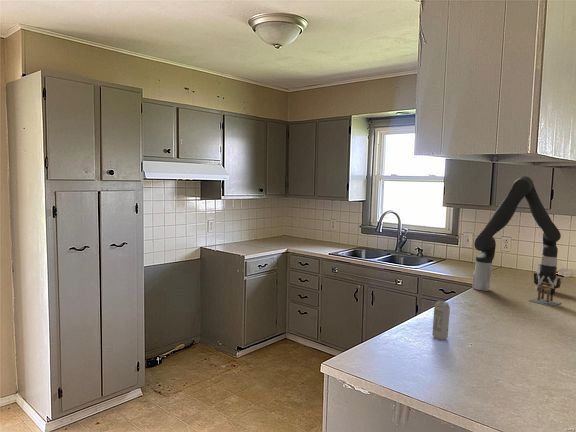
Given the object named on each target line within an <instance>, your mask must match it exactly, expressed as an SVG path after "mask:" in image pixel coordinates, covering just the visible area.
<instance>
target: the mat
mask: <svg viewBox="0 0 576 432" xmlns="http://www.w3.org/2000/svg"><path fill="white" fill-rule="evenodd" d="M537 299H538V297H536V298H532V299H528V302H530V303H535V304H539V305H543V306H547V307H551V308H552V307H556V306H559V305H562V302H558V301H555V300H553V301H550V299H549V302H546V300H547V298H546V299H545V298H544V299H541V297H540V300H537Z"/></svg>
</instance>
